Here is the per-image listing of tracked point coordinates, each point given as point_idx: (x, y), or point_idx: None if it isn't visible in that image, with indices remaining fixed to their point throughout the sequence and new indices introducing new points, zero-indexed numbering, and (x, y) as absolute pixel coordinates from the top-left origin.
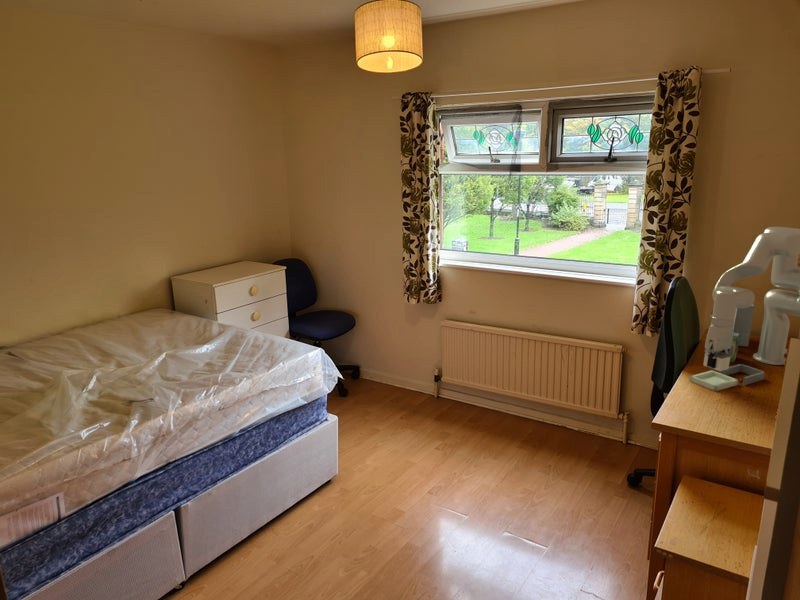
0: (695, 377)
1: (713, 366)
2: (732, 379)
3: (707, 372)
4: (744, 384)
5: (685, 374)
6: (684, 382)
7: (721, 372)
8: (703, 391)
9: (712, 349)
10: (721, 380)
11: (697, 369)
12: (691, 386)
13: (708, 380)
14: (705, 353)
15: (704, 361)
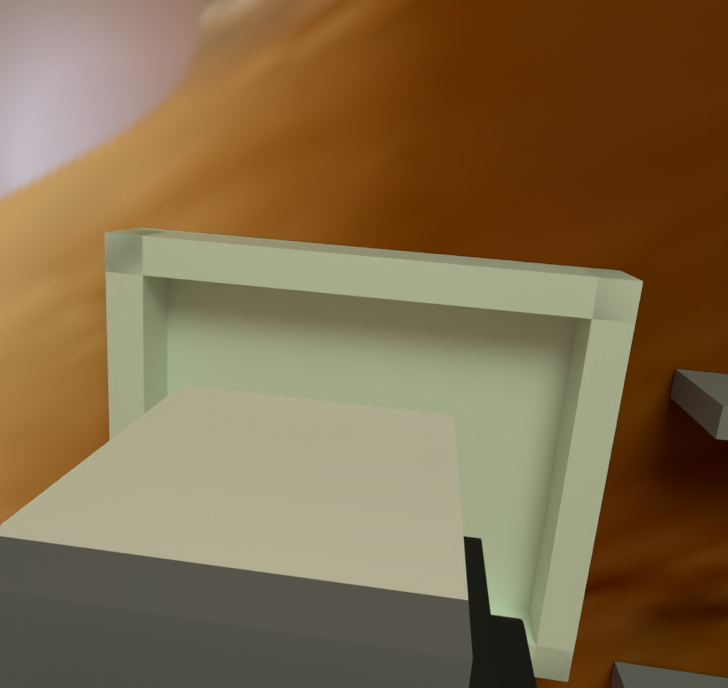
0: (129, 305)
1: None
2: (538, 615)
3: (478, 294)
4: (614, 685)
5: (299, 40)
6: (36, 222)
7: (696, 403)
8: (19, 498)
9: (379, 649)
10: (479, 484)
11: (677, 4)
12: (12, 346)
13: (329, 387)
14: (2, 539)
15: (142, 430)
